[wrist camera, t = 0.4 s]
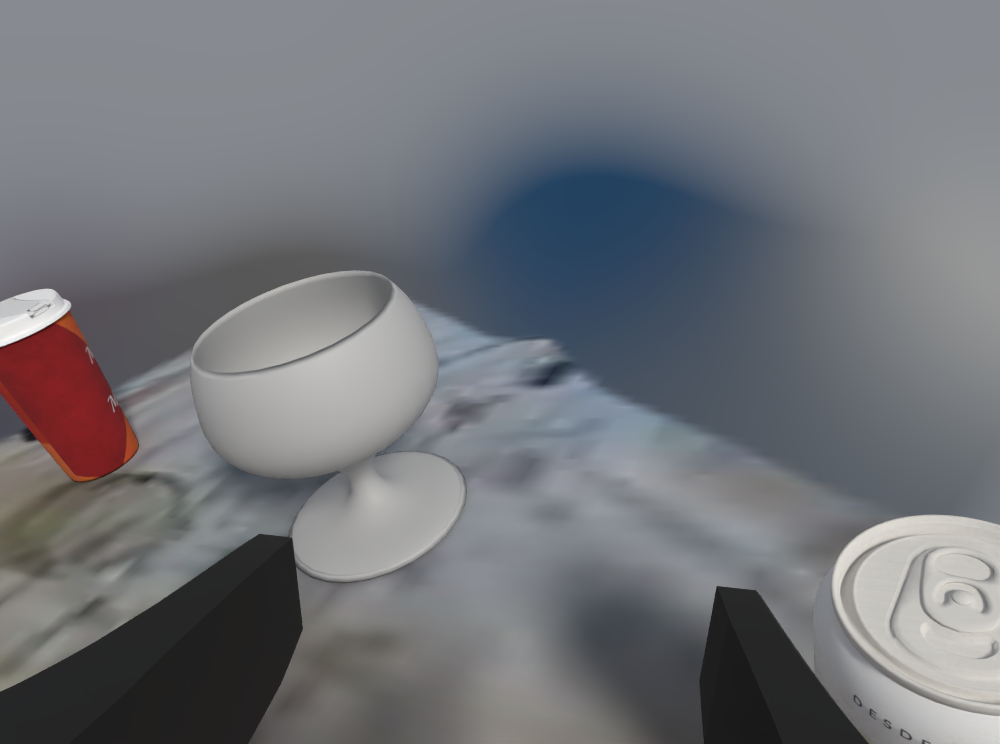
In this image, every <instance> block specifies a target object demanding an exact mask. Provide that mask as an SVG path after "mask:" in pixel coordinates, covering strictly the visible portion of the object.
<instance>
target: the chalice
mask: <svg viewBox="0 0 1000 744" xmlns="http://www.w3.org/2000/svg"><path fill="white" fill-rule="evenodd" d="M438 366H439V358H438V354H437V350H436V346H435V343H434V341H433V338H432V335H431V333H430V331H429V329H428V327H427V325H426V323H425V321H424V319H423V318H422V316H421V315H420V313H419V311H418V310H417V308H416V307H415V306H414V304H413V303H412V302H411V300H410V299H409V298H408V297H407V295H406V294H405V293H403V292H402V291H401V290H400V289H399V288H398V287H397V286H396V285H395V284H394V283H393V282H391V281H390V280H389V279H387V278H386V277H384V276H383V275H381V274H377V273H374V272H369V271H342V272H335V273H329V274H322V275H319V276H314V277H311V278H306V279H302V280H300V281H296V282H294V283H290V284H287V285H284V286H281V287H279V288H276V289H274V290H272V291H269V292H266V293H264V294H262V295H260V296H258V297H256V298H254V299H252V300H250V301H248V302H245V303H244V304H242V305H240V306H239V307H237V308H235V309H234V310H232V311H230V312H229V313H227V314H226V315H224V316H223V317H222V318H220V319H219V320H217V321H216V322H215V323H213V324H212V325H211V326H210V327H209V328H208V329H207V330H206V331H205V332H204V333H203V334H202V335H201V336H200V338H199V339H198V341H197V342H196V343H195V345H194V348H193V352H192V356H191V361H190V381H191V389H192V395H193V399H194V404H195V407H196V411H197V415H198V419H199V422H200V425H201V427H202V430H203V433H204V435H205V437H206V438H207V440H208V442H209V443H210V445H211V446H212V448H213V449H214V450H215V451H216V452H217V453H218V454H219V455H220V457H222V458H223V459H224V460H226V461H227V462H228V463H229V464H231V465H233V466H235V467H236V468H238V469H240V470H242V471H244V472H247V473H250V474H253V475H257V476H262V477H266V478H271V479H301V478H308V477H316V476H322V475H325V474H329V473H333V472H336V471H339V472H340V473H338V474H337V475H335V476H333V477H332V478H331V479H329V480H328V481H327V482H325V483H324V484H323V485H322V486H320V487H319V488H318V489H317V490H316V491H315V492H314V493H313V494H312V495H311V496H310V497H309V498H308V499H307V500H306V502H305V503H304V505H303V506H302V508H301V509H300V511H299V512H298V514H297V515H296V517H295V519H294V521H293V524H292V526H291V528H290V531H289V537H291V538H293V546H294V555H295V564H296V565H297V567H298V568H299V569H300V570H302V571H303V572H305V573H306V574H308V575H309V576H311V577H314V578H318V579H321V580H325V581H331V582H353V581H360V580H367V579H371V578H374V577H378V576H381V575H384V574H387V573H390V572H393V571H395V570H397V569H399V568H401V567H403V566H405V565H407V564H409V563H411V562H413V561H415V560H416V559H418V558H419V557H421V556H422V555H423V554H425V553H426V552H428V551H429V550H431V549H432V548H433V547H434V546H435V545H436V544H437V543H438V542H439V541H441V540H442V539H443V538H444V537H445V536H446V535H447V534H448V532H449V531H450V530H451V528H452V527H453V526H454V524H455V523H456V521H457V520H458V519H459V516H460V514H461V512H462V509H463V507H464V505H465V501H466V493H467V487H466V482H465V478H464V476H463V474H462V473H461V471H460V470H459V468H458V467H457V466H456V465H455V464H453V463H452V462H451V461H449V460H448V459H446V458H444V457H441V456H439V455H436V454H433V453H426V452H419V451H400V452H394V453H388V454H383V455H379V456H376V457H375V455H376V454H377V453H379V452H380V451H382V450H384V449H385V448H386V447H388V446H389V445H390V444H392V443H393V442H394V441H396V440H397V439H398V438H400V437H401V436H402V435H403V434H404V433H405V432H406V431H407V430H408V429H409V428H410V427H411V426H412V425H413V423H414V422H415V421H416V420H417V419H418V418H419V417H420V416H421V415H422V413H423V411H424V410H425V408H426V406H427V405H428V403H429V401H430V399H431V397H432V394H433V392H434V390H435V388H436V382H437V377H438Z"/></svg>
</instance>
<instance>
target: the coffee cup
mask: <svg viewBox="0 0 1000 744" xmlns="http://www.w3.org/2000/svg"><path fill="white" fill-rule="evenodd" d="M70 307H71V303H70V302H69V301H67V300H66V299H62V298H61V297H60V295H59V294H58V293H57V292H56V291H54V290H52V289H41V290H35V291H31V292H27V293H24V294H21V295H18V296H15V297H13V298H9V299H7V300H4V301H2V302H0V393H1V395H2V396H3V397H4V399H5V400H6V401H7V402H8V404H9V405H10V406H11V407H12V408H13V410H14V411H15V412H16V414H17V415H18V416H19V417H20V418H21V420H22V421H23V422H24V423H25V425H26V426H27V427H28V428H29V430H30V431H31V432H32V433H33V434H34V436H35V437H36V438H37V439H38V441H39V442H40V443H41V444H42V445H43V447H44V448H45V449H46V450H47V451H48V453H49V454H50V455H51V456H52V458H53V459H54V460H55V461H56V462H57V464H58V465H59V466H60V467H61V468H62V469H63V471H64V472H65V473H66V474H67V475H68V476H69V477H70V478H71V479H72V480H73V481H76V482H87V481H92V480H95V479H98V478H101V477H103V476H106V475H108V474H110V473H112V472H113V471H115V470H117V469H118V468H120V467H121V466H123V465H124V464H125V463H127V462H128V461H129V460H130V459H131V458H132V457H133V456H134V455H135V453H136V452H137V450H138V447H139V444H138V441H137V439H136V436H135V434H134V432H133V430H132V428H131V426H130V424H129V422H128V420H127V418H126V417H125V415H124V413H123V411H122V409H121V407H120V405H119V403H118V401H117V399H116V397H115V396H114V394H113V392H112V390H111V388H110V386H109V384H108V382H107V380H106V378H105V377H104V375H103V373H102V371H101V369H100V367H99V365H98V363H97V362H96V360H95V358H94V356H93V354H92V352H91V350H90V348H89V347H88V345H87V343H86V341H85V339H84V337H83V335H82V333H81V331H80V330H79V328H78V326H77V324H76V322H75V320H74V319H73V316H72V315H71V313H70V311H69V309H70Z"/></svg>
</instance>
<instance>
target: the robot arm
mask: <svg viewBox="0 0 1000 744" xmlns="http://www.w3.org/2000/svg"><path fill="white" fill-rule="evenodd" d="M302 630H303V626H302V617H301V608H300V600H299V591H298V582H297V573H296V564H295V555H294V546H293V538H291V537H282V536H273V535H264V534H259V535H257V536H256V537H254V538H252V539H251V540H249V541H248V542H246V543H245V544H243V545H242V546H240V547H239V548H237V549H236V550H234V551H233V552H231V553H230V554H229V555H227V556H226V557H224V558H223V559H221V560H220V561H218V562H217V563H216V564H214V565H213V566H211V567H210V568H208V569H207V570H205V571H204V572H203V573H201V574H200V575H198V576H197V577H195V578H194V579H192V580H191V581H189V582H188V583H186V584H185V585H183V586H182V587H181V588H179V589H178V590H176V591H175V592H173V593H172V594H170V595H169V596H167V597H166V598H164V599H163V600H161V601H160V602H158V603H157V604H155V605H154V606H152V607H151V608H149V609H147V610H146V611H144V612H143V613H141V614H139V615H138V616H136V617H134V618H133V619H131V620H130V621H128V622H126V623H125V624H123V625H122V626H120V627H118V628H117V629H115V630H114V631H112V632H110V633H109V634H107V635H106V636H104V637H102V638H101V639H99V640H98V641H96V642H94V643H92V644H91V645H89V646H87V647H85V648H84V649H82V650H80V651H78V652H77V653H75V654H73V655H71V656H69V657H68V658H66V659H64V660H62V661H60V662H58V663H57V664H55V665H53V666H51V667H49V668H47V669H45V670H43V671H41V672H39V673H38V674H36V675H34V676H32V677H30V678H28V679H26V680H24V681H22V682H20V683H18V684H16V685H14V686H12V687H10V688H8V689H5V690H3V691H1V692H0V744H248V743H249V741H250V739H251V737H252V735H253V734H254V732H255V730H256V728H257V727H258V725H259V723H260V721H261V719H262V717H263V716H264V714H265V712H266V710H267V708H268V706H269V705H270V703H271V701H272V699H273V697H274V695H275V694H276V692H277V690H278V688H279V686H280V684H281V682H282V680H283V677H284V675H285V672H286V670H287V668H288V665H289V663H290V661H291V658H292V655H293V653H294V650H295V648H296V645H297V643H298V640H299V637H300V635H301V632H302ZM700 694H701V709H702V723H703V735H704V744H869V743H868V742H867V741H866V739H865V738H864V737H863V736H862V735H861V733H860V732H859V731H858V730H857V729H856V727H855V726H854V725H853V724H852V722H851V721H850V720H849V719H848V717H847V716H846V715H845V714H844V712H843V711H842V710H841V709H840V707H839V706H838V705H837V703H836V702H835V701H834V699H833V698H832V697H831V695H830V694H829V693H828V691H827V690H826V689H825V687H824V686H823V685H822V683H821V682H820V681H819V680H818V678H817V677H816V676H815V674H814V673H813V672H812V670H811V669H810V667H809V666H808V665H807V663H806V662H805V660H804V659H803V658H802V656H801V655H800V653H799V652H798V650H797V649H796V648H795V646H794V645H793V643H792V642H791V640H790V639H789V638H788V636H787V635H786V633H785V632H784V630H783V629H782V627H781V626H780V624H779V623H778V621H777V620H776V618H775V617H774V615H773V614H772V612H771V611H770V609H769V608H768V606H767V605H766V603H765V602H764V600H763V599H762V597H761V596H760V595H759V594H758V592H757V591H756V590H747V589H738V588H730V587H721V586H717V588H716V594H715V599H714V604H713V610H712V615H711V621H710V626H709V632H708V637H707V643H706V648H705V654H704V659H703V665H702V670H701V676H700Z"/></svg>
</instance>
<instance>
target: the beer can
mask: <svg viewBox="0 0 1000 744" xmlns="http://www.w3.org/2000/svg"><path fill="white" fill-rule="evenodd" d="M813 631H814V671H815V676H816V677H817V678H818V680H819V681H820V682H821V683H822V685H823V686H824V687H825V689H826V690H827V691H828V693H829V694H830V695H831V697H832V698H833V699H834V701H835V702H836V703H837V705H838V706H839V707H840V709H841V710H842V711H843V712H844V714H845V715H846V716H847V717H848V719H849V720H850V721H851V722H852V724H853V725H854V726H855V727H856V729H857V730H858V731H859V732H860V733H861V735H862V736H863V737H864V738H865V739H866V741H867V742H868V743H869V744H1000V525H997V524H993V523H990V522H986V521H982V520H977V519H972V518H967V517H959V516H950V515H949V516H948V515H918V516H909V517H903V518H897V519H894V520H890V521H886V522H883V523H881V524H878V525H875V526H873V527H871V528H869V529H867V530H865V531H864V532H862V533H860V534H859V535H857V536H856V537H855V538H854V539H853V540H851V541H850V542H849V543H848V544H847V545H846V546H845V548H844V549H843V550H842V552H841V553H840V555H839V556H838V558H837V560H836V562H835V565H834V566H833V568H832V569H831V570H830V571H829V572H828V573H827V574H826V576H825V578H824V579H823V581H822V582H821V584H820V587H819V589H818V591H817V594H816V598H815V602H814V610H813Z"/></svg>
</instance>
